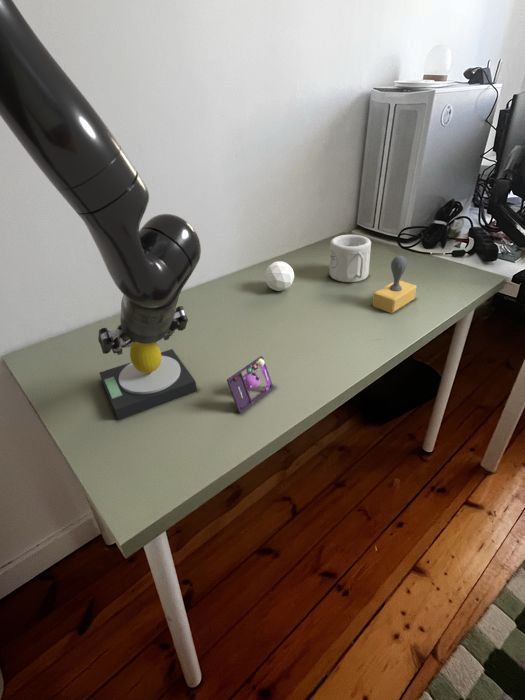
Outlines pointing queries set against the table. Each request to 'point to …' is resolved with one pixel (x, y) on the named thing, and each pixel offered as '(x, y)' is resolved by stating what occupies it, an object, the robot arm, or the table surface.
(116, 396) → the scale
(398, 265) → the rubber stamp
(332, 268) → the mug
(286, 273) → the geometric ball
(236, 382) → the purple toy
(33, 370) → the table surface
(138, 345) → the lemon
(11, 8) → the robot arm
